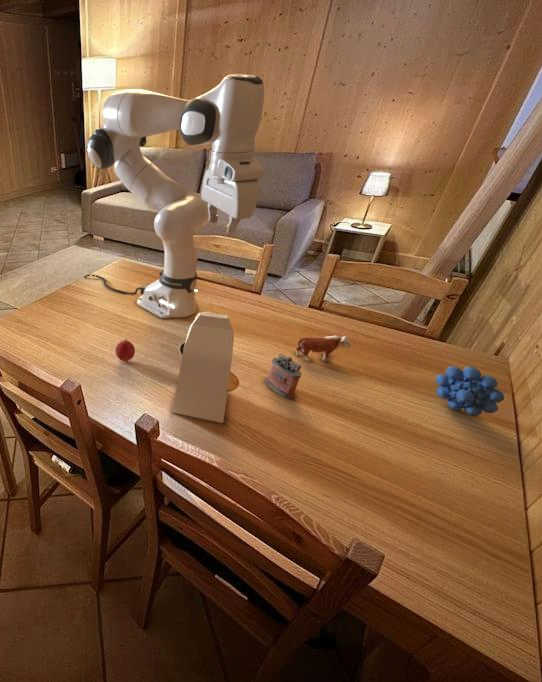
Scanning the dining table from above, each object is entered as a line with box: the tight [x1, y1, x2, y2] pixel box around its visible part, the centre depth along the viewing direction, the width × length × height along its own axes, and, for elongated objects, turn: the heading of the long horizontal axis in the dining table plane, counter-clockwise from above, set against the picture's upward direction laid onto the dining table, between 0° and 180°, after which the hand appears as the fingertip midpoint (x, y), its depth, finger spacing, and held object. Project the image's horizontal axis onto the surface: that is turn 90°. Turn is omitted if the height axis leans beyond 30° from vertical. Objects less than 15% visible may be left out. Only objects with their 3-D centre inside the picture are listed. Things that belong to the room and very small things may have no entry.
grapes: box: [434, 365, 505, 417], centre depth 82 cm, size 12×7×12 cm, turn 40°
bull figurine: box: [295, 334, 353, 362], centre depth 102 cm, size 4×13×8 cm, turn 79°
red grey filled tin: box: [265, 353, 303, 399], centre depth 92 cm, size 8×3×10 cm, turn 23°
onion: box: [115, 338, 136, 362], centre depth 107 cm, size 6×6×8 cm
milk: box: [172, 311, 235, 424], centre depth 85 cm, size 12×12×26 cm
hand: (220, 227), depth 87 cm, fingers open, 8 cm apart
